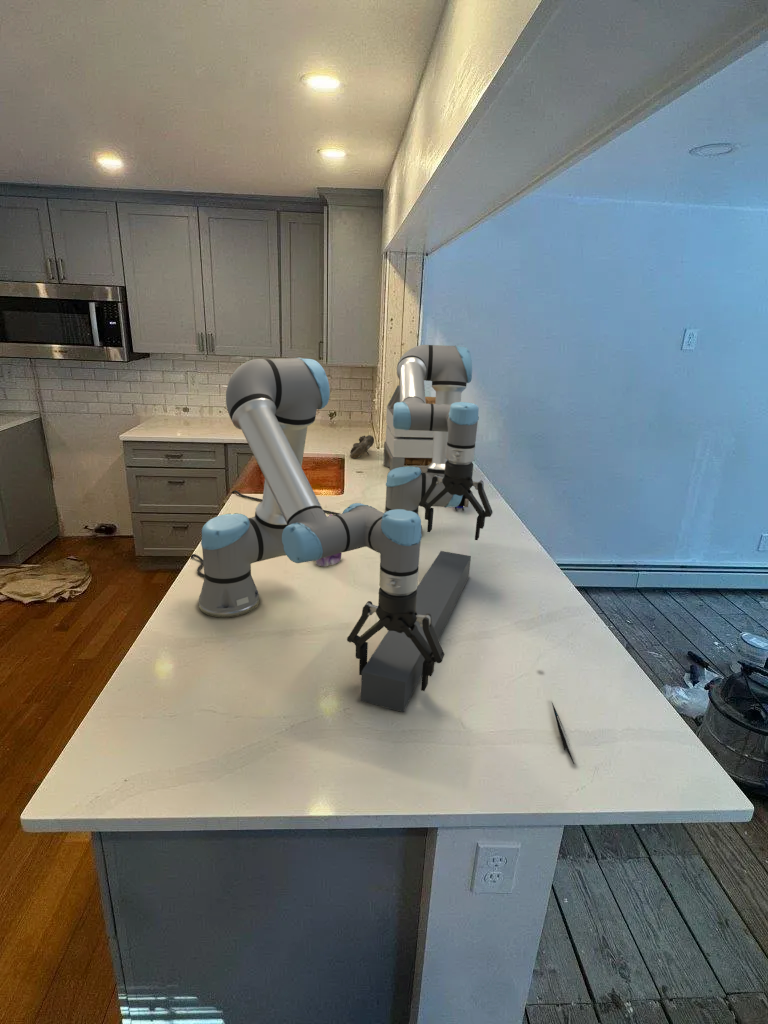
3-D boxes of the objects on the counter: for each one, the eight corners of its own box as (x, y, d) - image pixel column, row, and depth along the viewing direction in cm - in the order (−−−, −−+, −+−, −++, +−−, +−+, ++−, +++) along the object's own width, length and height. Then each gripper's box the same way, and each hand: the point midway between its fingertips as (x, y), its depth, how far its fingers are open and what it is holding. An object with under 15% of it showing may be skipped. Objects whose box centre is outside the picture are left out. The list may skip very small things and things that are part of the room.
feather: (541, 676, 126) (546, 670, 126) (574, 768, 100) (581, 761, 99) (535, 672, 126) (540, 666, 126) (566, 764, 100) (573, 756, 99)
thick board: (439, 572, 172) (440, 550, 170) (468, 577, 170) (471, 555, 167) (360, 700, 114) (361, 671, 112) (403, 712, 112) (405, 682, 109)
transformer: (382, 463, 289) (386, 382, 275) (445, 464, 293) (451, 384, 279) (390, 482, 257) (394, 392, 243) (460, 483, 261) (468, 394, 247)
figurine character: (468, 516, 224) (463, 500, 237) (471, 498, 221) (465, 483, 234) (452, 515, 224) (447, 499, 237) (453, 498, 220) (449, 482, 234)
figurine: (319, 569, 170) (319, 523, 165) (307, 556, 178) (307, 511, 173) (348, 564, 174) (349, 519, 169) (335, 552, 182) (336, 508, 177)
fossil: (350, 441, 314) (371, 426, 309) (360, 454, 317) (382, 440, 312) (343, 455, 294) (366, 439, 289) (355, 469, 297) (378, 453, 292)
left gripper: (332, 584, 112) (331, 675, 119) (456, 609, 104) (447, 705, 111) (347, 569, 118) (345, 656, 125) (464, 591, 111) (455, 683, 118)
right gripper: (411, 458, 153) (406, 531, 160) (504, 470, 145) (495, 546, 152) (418, 452, 159) (414, 523, 167) (508, 463, 152) (499, 537, 159)
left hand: (393, 679), depth 118 cm, fingers open, 13 cm apart
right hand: (452, 534), depth 159 cm, fingers open, 13 cm apart
